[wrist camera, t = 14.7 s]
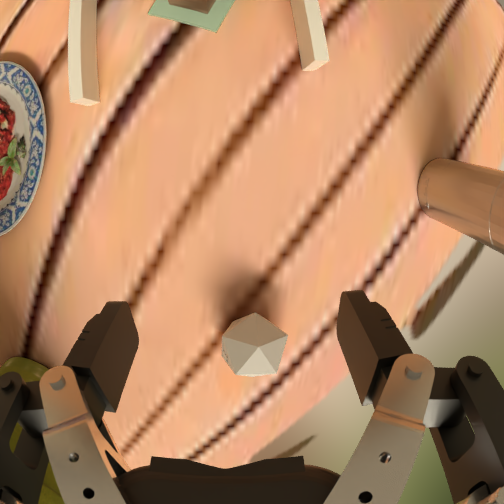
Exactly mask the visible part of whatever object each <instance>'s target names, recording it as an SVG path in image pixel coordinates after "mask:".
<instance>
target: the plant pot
mask: <svg viewBox="0 0 504 504" xmlns="http://www.w3.org/2000/svg"><path fill="white" fill-rule="evenodd" d="M48 370H49V369H48V368H46V367H45V366H43V365H41V364H39V363H37V362H35V361H33V360H30V359H27V358H22V357H12V358H10V359H8V360H7V361H6V362H5V363H4V364H3V365H2V367H1V368H0V376H2V375H3V374H5V373H7V372H12V371H13V372H17V373H19V374H20V376H21V377H22V378H23V380H24V381H25V382H32V381H40V380H41V377H42V376H43V374H44V373H45V372H46V371H48ZM22 429H23V428H22V427H21V426H20V425H19V423H18V422H17V423H16V426H15V428H14V431H13V433H12V436H11V438H10V443H9V444H10V449H11V451H12V453H14V450H15V447H16V444H17V442H18V439H19V436H20V434H21V431H22ZM38 504H65V503H64V501H63V498H62V496H61V493H60V490H59V488H58V485H57V482H56V479H55V476H54V473H53V470H52V467H51V464H50V461H49V463H48V466H47V470H46V474H45V477H44V481H43V485H42V489H41V493H40V498H39V502H38Z"/></svg>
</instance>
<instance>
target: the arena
mask: <svg viewBox="0 0 504 504" xmlns="http://www.w3.org/2000/svg"><path fill="white" fill-rule="evenodd" d="M290 2H291V7H292V12H293V18H294V23H295V29H296V35H297V41H298V47H299V53H300V59H301V66H302V71H315V70H317V69H318V68H320V67H321V66H322V65H324V64H325V63H327V62H328V61H329V55H328V49H327V43H326V38H325V32H324V27H323V22H322V17H321V12H320V8H319V3H318V0H290ZM96 14H97V0H70V7H69V25H68V73H69V92H70V102H72V103H77V104H81V105H86V106H91V105H94V104H97V103H100V96H99V84H98V68H97V42H96Z"/></svg>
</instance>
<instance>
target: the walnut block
mask: <svg viewBox="0 0 504 504" xmlns="http://www.w3.org/2000/svg"><path fill="white" fill-rule="evenodd" d="M215 1H216V0H168V2H169V5H173V6H178V7H182V8H186V9H190V10H194V11H198V12H201V13H205V14H208V13H209V11H210V9H211V8H212V6H213V4H214V3H215Z"/></svg>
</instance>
